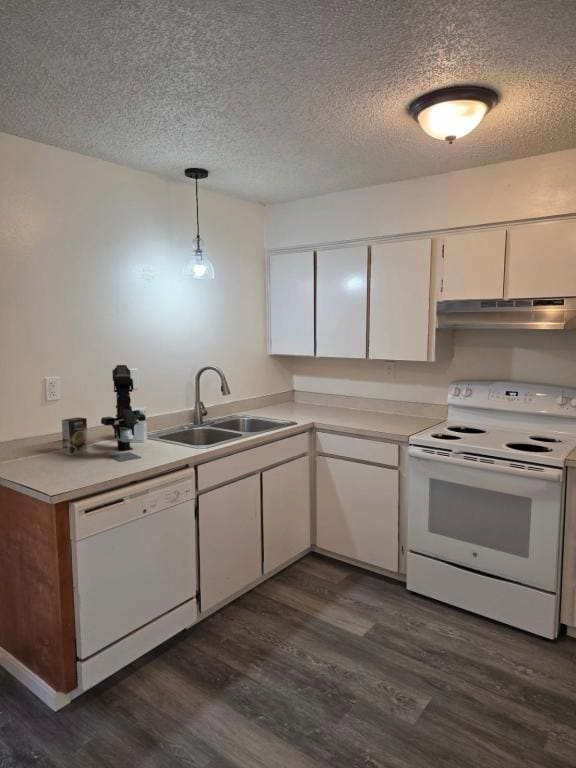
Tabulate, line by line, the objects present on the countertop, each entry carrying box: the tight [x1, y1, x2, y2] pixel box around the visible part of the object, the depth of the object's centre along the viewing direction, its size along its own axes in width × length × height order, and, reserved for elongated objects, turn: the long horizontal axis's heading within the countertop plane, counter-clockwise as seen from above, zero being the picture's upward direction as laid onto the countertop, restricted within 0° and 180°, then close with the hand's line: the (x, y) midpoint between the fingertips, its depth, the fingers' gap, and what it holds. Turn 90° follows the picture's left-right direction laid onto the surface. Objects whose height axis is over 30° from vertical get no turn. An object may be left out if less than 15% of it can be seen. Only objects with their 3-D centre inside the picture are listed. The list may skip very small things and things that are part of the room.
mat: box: [108, 451, 142, 463], centre depth 228 cm, size 12×10×1 cm
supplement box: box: [130, 406, 148, 444], centre depth 260 cm, size 10×9×17 cm
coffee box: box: [61, 417, 89, 456], centre depth 234 cm, size 9×6×16 cm
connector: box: [116, 427, 133, 442], centre depth 226 cm, size 12×4×5 cm, turn 43°
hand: (124, 437), depth 227 cm, fingers closed on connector, 4 cm apart
